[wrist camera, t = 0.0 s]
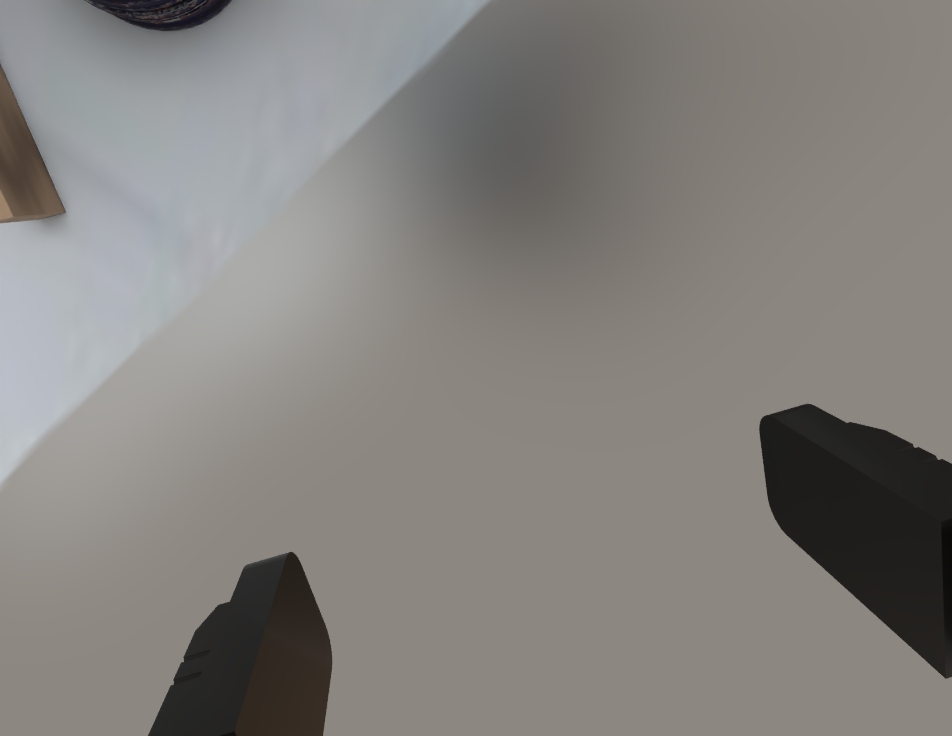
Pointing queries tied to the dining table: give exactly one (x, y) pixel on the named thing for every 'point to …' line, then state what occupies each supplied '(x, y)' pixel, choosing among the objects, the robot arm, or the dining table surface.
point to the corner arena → (22, 167)
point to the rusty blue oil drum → (162, 12)
